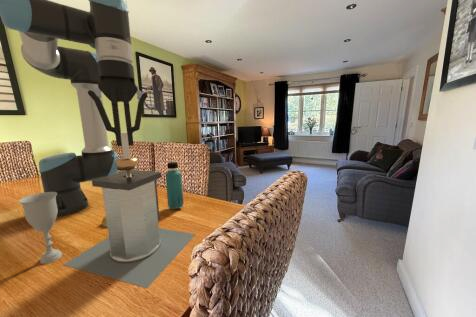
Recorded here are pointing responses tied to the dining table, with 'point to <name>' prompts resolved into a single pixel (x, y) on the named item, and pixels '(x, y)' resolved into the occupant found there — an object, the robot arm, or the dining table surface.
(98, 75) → the robot arm
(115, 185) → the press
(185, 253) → the dining table surface
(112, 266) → the slate mat
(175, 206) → the beverage bottle
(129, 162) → the plunger
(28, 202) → the chalice
